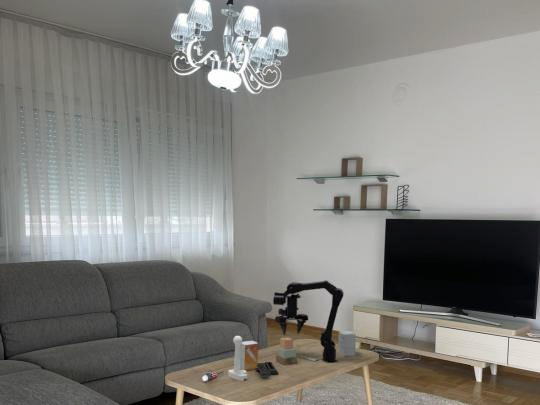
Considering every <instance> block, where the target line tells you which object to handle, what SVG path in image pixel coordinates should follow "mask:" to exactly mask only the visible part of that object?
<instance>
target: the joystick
mask: <svg viewBox="0 0 540 405" xmlns="http://www.w3.org/2000/svg"><path fill="white" fill-rule="evenodd" d="M232 342H233V344H234V359H233V368H232V369H228V376H229V377H230V378H232V379H233V380H236V381H240V382H244V381H245V380H248V374H247V373H248V372H247V371H248V370H242V369H240V344H241V343H242V342H243V338H242V336H240V335H235V336H234V337H233V339H232Z"/></svg>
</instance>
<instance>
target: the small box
mask: <svg viewBox="0 0 540 405" xmlns="http://www.w3.org/2000/svg"><path fill="white" fill-rule="evenodd" d="M258 358H259V343H258V342H256V341H254V340H246V341H242V343H241V344H240V370H245V371H251V370H256V369H255V368H256V366H257V365H258V363H259V361H258V360H259V359H258ZM258 366H259V365H258Z"/></svg>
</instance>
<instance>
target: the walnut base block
mask: <svg viewBox="0 0 540 405" xmlns="http://www.w3.org/2000/svg"><path fill="white" fill-rule="evenodd" d="M275 362H276V363H279V364H280V365H282V366H290V365H295V364H296V365H297V362H298V358H297V356H296V357H292V358H283V357H281V356H279V355H278V354H276V355H275Z"/></svg>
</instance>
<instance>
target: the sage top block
mask: <svg viewBox="0 0 540 405" xmlns="http://www.w3.org/2000/svg"><path fill="white" fill-rule="evenodd" d="M277 348H278V350H277V352H278V353H277V355H279V356H281V357H283V358H292V357H297V349H296V348H294V347H293V349H288V350H284V349H282V348H280V346H278V347H277Z"/></svg>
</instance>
